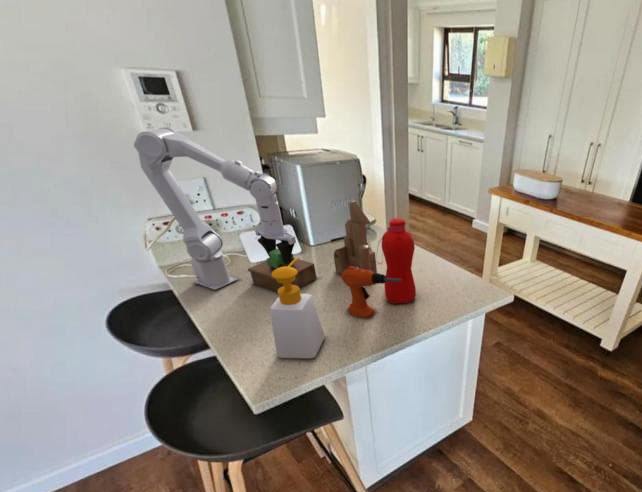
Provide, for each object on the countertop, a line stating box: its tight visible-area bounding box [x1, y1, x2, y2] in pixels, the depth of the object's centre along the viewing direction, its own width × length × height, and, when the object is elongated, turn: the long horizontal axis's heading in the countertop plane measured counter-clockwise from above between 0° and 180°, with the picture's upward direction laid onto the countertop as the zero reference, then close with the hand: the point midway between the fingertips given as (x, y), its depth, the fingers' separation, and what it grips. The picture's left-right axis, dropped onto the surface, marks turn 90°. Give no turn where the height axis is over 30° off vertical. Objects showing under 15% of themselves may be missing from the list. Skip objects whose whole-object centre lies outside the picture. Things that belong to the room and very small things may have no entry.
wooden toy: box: [333, 200, 378, 276], centre depth 119 cm, size 16×7×25 cm, turn 57°
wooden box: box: [249, 265, 317, 293], centre depth 119 cm, size 13×15×5 cm
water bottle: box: [376, 217, 417, 304], centre depth 108 cm, size 9×11×25 cm
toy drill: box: [341, 266, 402, 319], centre depth 101 cm, size 5×19×15 cm, turn 71°
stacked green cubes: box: [266, 248, 295, 268], centre depth 116 cm, size 7×4×5 cm, turn 155°
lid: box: [247, 257, 315, 280], centre depth 117 cm, size 13×15×1 cm
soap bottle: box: [269, 256, 326, 359], centre depth 88 cm, size 10×14×22 cm
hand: (281, 260), depth 116 cm, fingers open, 5 cm apart
